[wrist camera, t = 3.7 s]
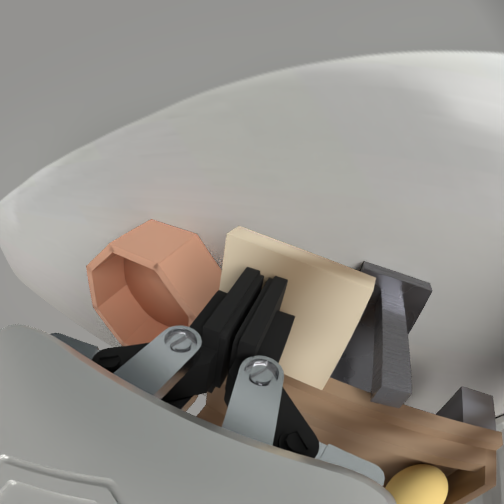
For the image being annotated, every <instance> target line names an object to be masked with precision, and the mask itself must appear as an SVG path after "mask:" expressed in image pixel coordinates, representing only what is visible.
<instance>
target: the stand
mask: <svg viewBox="0 0 504 504" xmlns="http://www.w3.org/2000/svg"><path fill="white" fill-rule="evenodd" d="M360 272H363V273H365V274H368V275H370V276H373V277H375V278H376V280H375V285H374V290H373V292H372V295H371V297H370V299H369V301H368V303H367V305H366V308H365V310H364V312H363V314H362V316H361V318H360V320H359V322H358V324H357V326H356V328H355V330H354V333H353V334H352V336H351V338H350V340H349V342H348V344H347V346H346V348H345V350H344V352H343V354H342V356H341V358H340V359H339V361H338V363H337V365H336V367H335V369H334V370H333V372H332V374H331V376H330V377H331V378H333V379H335V380H338V381H341V382H343V383H346V384H348V385H351V386H353V387H356V388H359V389H361V390H364V391H367V392H370V391H371V398H370V402H374V403H378V404H382V405H387V406H391V407H395V408H400V407H401V406H402V405H403V404H404V402H405V401H406V400H407V399H408V398H409V397H410V395H411V394H412V385H411V367H410V354H409V343H408V334H409V332H410V330H411V329H412V327H413V325H414V324H415V322H416V320H417V318H418V317H419V315H420V313H421V311H422V309H423V308H424V306H425V304H426V302H427V300H428V298H429V296H430V295H431V293H432V288H431V285H430V283H428V282H425V281H422V280H419V279H416V278H413V277H410V276H407V275H404V274H401V273H398V272H395V271H392V270H389V269H386V268H383V267H380V266H377V265H374V264H371V263H368V262H365V261H364V263H363V265H362V268H361V270H360Z"/></svg>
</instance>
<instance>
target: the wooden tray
mask: <svg viewBox="0 0 504 504" xmlns="http://www.w3.org/2000/svg"><path fill="white" fill-rule="evenodd" d="M246 267H250V268H253V269H256V270H259V271H260V275H263V276H264V280H263V285H262V289H263V287H264V285H265V283H266V282H267V280H268V278H269V277H270V278H274V277H275V276H278V277H281V278H284V279H287V280H288V283H287V286H286V290H285V294H284V297H283V301H282V304H281V308H280V311H282V312H285V313H288V314H291V315H294V316H295V319H294V322H293V325H292V328H291V331H290V334H289V337H288V340H287V342H286V345H285V348H284V350H283V353H282V356H281V358H280V361H279V364H280V366H281V367H282V369H283V371H284V380H283V388H284V389H285V391H286V392H287V394H288V395H289V397H290V398H291V400H292V401H293V403H294V404H295V406H296V407H297V409H298V410H299V412H300V413H301V415H302V416H303V417H304V419H305V420H306V422H307V423H308V425H309V426H310V428H311V429H312V430H313V432H314V433H315V435H316V436H317V438H318V440H319V442H321V443H323V444H325V445H328V444H331V445H333V446H335V447H337V448H340V449H342V450H344V451H346V452H348V453H350V454H353V455H355V456H357V457H359V458H362V459H364V460H366V461H369V462H371V463H373V464H375V465H377V466H378V467H380V468H381V470H382V471H383V473H384V477H385V480H384V485H383V487H384V488H385V487H386V485H387V484H388V482H389V481H390V480H391V479H392V478H393V477H394V476H395V475H396V474H397V473H398V472H400V471H402V470H403V469H405V468H407V467H410V466H413V465H418V464H428V465H432V466H435V467H437V468H438V469H440V470H441V471H442V472H443V473H444V474H445V476H446V478H447V482H448V493H447V497H446V499H445V501H444V503H443V504H466V503H468V502H469V501H471V500H473V499H475V498H477V497H478V496H480V495H482V494H483V493H485V492H487V491H488V490H490V489H492V488H493V487H495V486H496V466H497V465H496V450H498V449H499V448H500V447H501V446H503V439H502V432H499V431H496V421H495V411H494V402H493V396H491V395H488V394H484V393H481V392H478V391H475V390H472V389H469V388H466V387H463V386H461V388H460V389H459V390H458V391H457V392H456V393H455V394H454V395H453V397H452V398H451V399H450V400H449V401H448V402H447V403H446V404H445V405H444V406H443V407H442V408H441V409H440V410H439V411H438V412H437V414H436V415H435V414H432V413H428V412H425V411H422V410H419V409H416V408H413V407H410V406H407V405H404V404H403V405H402V406H401V407H400V408H395V407H391V406H387V405H382V404H378V403H374V402H370V398H371V393H369V392H367V391H364V390H361V389H359V388H356V387H353V386H351V385H348V384H346V383H343V382H341V381H338V380H335V379H333V378H331V377H330V376H331V374H332V372H333V370H334V369H335V367H336V365H337V363H338V361H339V359H340V358H341V356H342V354H343V352H344V350H345V348H346V346H347V344H348V342H349V340H350V338H351V336H352V334H353V333H354V330H355V328H356V326H357V324H358V322H359V320H360V318H361V316H362V314H363V312H364V310H365V308H366V305H367V303H368V301H369V299H370V297H371V295H372V292H373V290H374V285H375V280H376V278H375V277H373V276H370V275H368V274H365V273H363V272H360V271H357V270H355V269H352V268H350V267H347V266H344V265H342V264H339V263H337V262H334V261H331V260H329V259H326V258H324V257H321V256H318V255H316V254H313V253H310V252H308V251H305V250H302V249H300V248H297V247H295V246H292V245H289V244H286V243H284V242H281V241H278V240H276V239H273V238H270V237H268V236H265V235H262V234H260V233H257V232H254V231H251V230H249V229H246V228H243V227H240V226H238V227H237V228H235V229H233V230H232V231H230V232H229V233H227V236H226V243H225V250H224V257H223V265H222V272H221V280H220V287H219V290H221V291H223V292H226V293H228V292H229V291H230V289H231V288H232V286H233V285H234V284H235V282H236V281H237V280H238V278H239V277H240V275H241V274H242V273H243V271H244V270H245V269H246ZM262 289H261V290H262ZM226 380H227V377H226V378H225V380H224V382H223V384H222V386H221V387H220V388H217V387H215V388H214V390H213V392H212V393H209V392H207V398H206V399H207V400H206V405H205V407H204V408H203V409H202V410H201V411H200V413H199V414H198V415H197V416H196V417H198V418H201V419H203V420H205V421H208V422H210V423H212V424H215V425H217V426H220V427H222V425H223V421H224V418H225V415H226V412H227V408H228V407H227V405H226V403H225V401H224V396H225V385H226Z"/></svg>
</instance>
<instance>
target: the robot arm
mask: <svg viewBox="0 0 504 504" xmlns="http://www.w3.org/2000/svg"><path fill="white" fill-rule="evenodd" d="M263 280H264V276H263V275H260V271H259V270H256V269H253V268H250V267H246V269H245V270H244V271H243V273H242V274H241V275H240V277H239V278H238V280H237V281H236V282H235V284H234V285H233V286H232V288H231V289H230V291H229V292H228V293H226V292H223V291H221V290H219V291H217V292H216V293H215V295H214V296H213V297H212V298H211V300H210V301H209V302H208V303H207V305H206V306H205V307H204V309H203V310H202V311H201V312H200V314H199V315H198V316H197V317H196V319H195V320H194V321H193V322H192V324H191V325H190V326H189V327H188V326H182V325H180V326H172V327H169V328H167V329H166V330H164V331H163V332H162V333H161V334H159V335H158V336H157V337H156V338H155V339H154V340H152V341H151V342H149V343H143V344H136V345H129V346H121V347H114V348H107V349H103V350H99V349H98V347H97V346H94V345H91V344H88V343H85V342H82V341H79V340H77V339H74V338H71V337H68V336H66V335H63V334H59V333H52V334H48V333H46V332H44V331H42V330H39V329H36V328H33V327H29V326H25V325H9V326H7V327H5V328H3V329H1V330H0V504H397V503H396V500H395V499H394V497H393V496H392V495H391V493H390V492H389V491H388V490H386V489H385V488H384V487H383V485H384V480H385V477H384V473H383V471H382V470H381V468H380V467H378V466H377V465H375V464H373V463H371V462H369V461H366V460H364V459H362V458H359V457H357V456H355V455H353V454H350V453H348V452H346V451H344V450H342V449H340V448H337V447H335V446H333V445H331V444H328V445H325V444H323V443H321V442H319V440H318V438H317V436H316V435H315V433H314V432H313V430H312V429H311V428H310V426H309V425H308V423H307V422H306V420H305V419H304V417H303V416H302V415H301V413H300V412H299V410H298V409H297V407H296V406H295V404H294V403H293V401H292V400H291V398H290V397H289V395H288V394H287V392H286V391H285V389H284V388H283V380H284V371H283V369H282V367H281V366H280V364H279V361H280V358H281V356H282V353H283V350H284V348H285V345H286V342H287V340H288V337H289V334H290V331H291V328H292V325H293V322H294V319H295V316H294V315H291V314H288V313H285V312H282V311H280V308H281V304H282V301H283V297H284V294H285V290H286V286H287V283H288V280H287V279H284V278H281V277H278V276H275V277H274V278H270V277H269V278H268V280H267V282H266V283H265V285H264V287H263V289H262V285H263ZM261 289H262V290H261ZM226 377H227V380H226V385H225V396H224V401H225V403H226V405H227V407H228V408H227V412H226V415H225V418H224V421H223V425H222V427H220V426H217V425H215V424H212V423H210V422H208V421H205V420H203V419H201V418H198V417H196V416H193V415H191V414H189V413H187V412H186V411H187V410H188V408H189V407H190V406H191V405H192V404H193V403H194V402H195V400H196V398H197V397H198V395H199V394H203V393H206V392H209V393H212V392H213V390H214V388H215V387H217V388H220V387H221V386H222V384H223V382H224V380H225V378H226ZM495 421H496V431H499V432H502V439H503V446H501V447H500V448H499V449H498V450H496V465H497V466H496V486H495V487H493V488H492V489H490V490H488V491H487V492H485V493H483V494H482V495H480V496H478V497H477V498H475V499H473V500H471V501H469V502H468V503H466V504H504V415H503V416H501V417H499V418H496V419H495Z"/></svg>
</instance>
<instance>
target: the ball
mask: <svg viewBox="0 0 504 504" xmlns="http://www.w3.org/2000/svg"><path fill="white" fill-rule="evenodd" d="M385 489H386V490H388V491H389V492H390V493H391V495H392V496H393V497H394V499H395V500H396V503H397V504H443V503H444V501H445V499H446V497H447V493H448V482H447V478H446V476H445V474H444V473H443V472H442V471H441V470H440V469H438V468H437V467H435V466H432V465H428V464H418V465H413V466H410V467H407V468H405V469H403V470H402V471H400V472H398V473H397V474H396V475H395V476H394V477H393V478H392V479H391V480H390V481H389V482H388V484H387V485H386V487H385Z"/></svg>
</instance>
